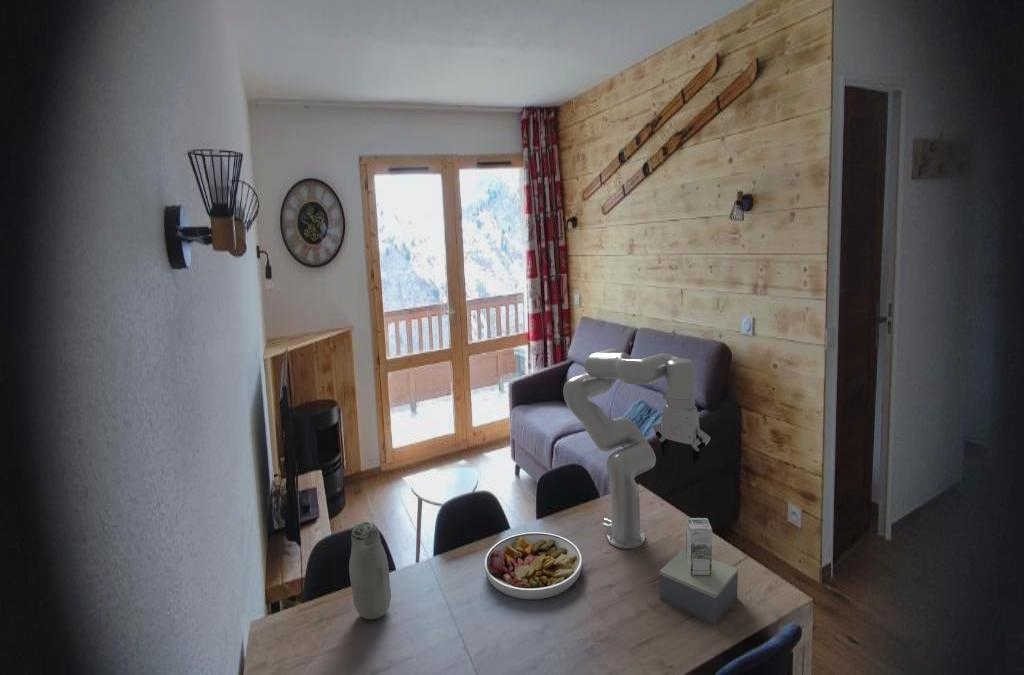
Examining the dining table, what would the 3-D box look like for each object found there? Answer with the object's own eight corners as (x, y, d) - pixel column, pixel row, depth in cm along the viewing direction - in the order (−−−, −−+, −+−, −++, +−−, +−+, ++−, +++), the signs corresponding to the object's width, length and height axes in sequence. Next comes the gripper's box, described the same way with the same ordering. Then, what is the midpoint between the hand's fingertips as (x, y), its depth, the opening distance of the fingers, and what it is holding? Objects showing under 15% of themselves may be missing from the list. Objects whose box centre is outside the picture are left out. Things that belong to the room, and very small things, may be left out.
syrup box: (706, 563, 155) (707, 516, 152) (712, 576, 149) (712, 528, 146) (685, 563, 155) (685, 516, 152) (690, 576, 150) (690, 528, 147)
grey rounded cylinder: (349, 623, 153) (336, 531, 148) (371, 599, 162) (360, 512, 157) (378, 630, 149) (367, 537, 144) (399, 606, 159) (389, 517, 153)
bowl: (558, 537, 189) (557, 516, 188) (599, 589, 161) (599, 565, 160) (474, 558, 180) (472, 536, 178) (502, 617, 152) (500, 592, 151)
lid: (659, 574, 153) (659, 570, 153) (683, 551, 163) (683, 548, 163) (715, 598, 142) (715, 594, 142) (737, 572, 152) (737, 568, 152)
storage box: (659, 599, 155) (659, 574, 153) (683, 575, 164) (683, 551, 163) (715, 625, 144) (715, 598, 142) (737, 598, 153) (737, 572, 152)
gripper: (646, 400, 160) (647, 455, 163) (703, 411, 148) (703, 470, 152) (659, 393, 165) (660, 447, 169) (715, 403, 153) (715, 461, 157)
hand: (680, 458), depth 160 cm, fingers open, 9 cm apart
